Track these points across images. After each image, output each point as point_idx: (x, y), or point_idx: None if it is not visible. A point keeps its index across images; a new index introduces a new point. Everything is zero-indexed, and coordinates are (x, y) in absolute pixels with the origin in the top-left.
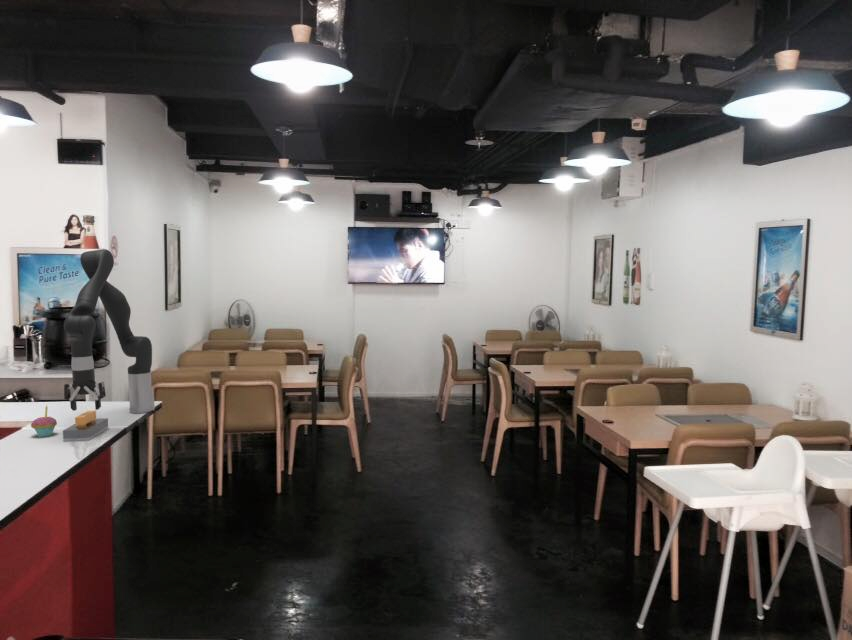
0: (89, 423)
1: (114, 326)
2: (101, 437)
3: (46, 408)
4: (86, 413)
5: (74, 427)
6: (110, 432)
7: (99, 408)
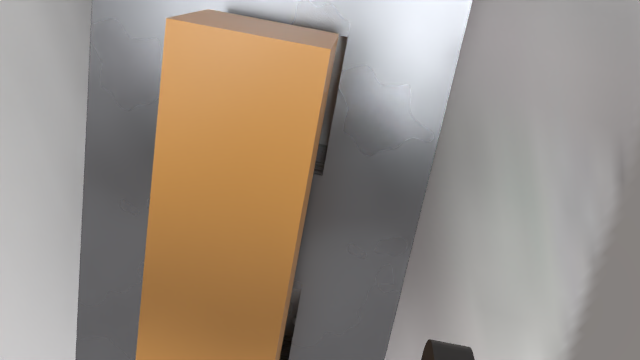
0: None
1: None
2: None
3: None
4: (213, 260)
5: None
6: (524, 157)
7: (465, 351)
